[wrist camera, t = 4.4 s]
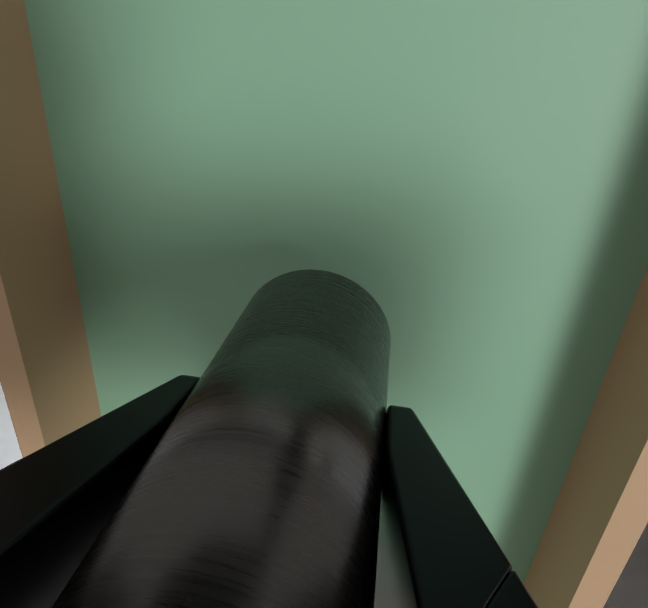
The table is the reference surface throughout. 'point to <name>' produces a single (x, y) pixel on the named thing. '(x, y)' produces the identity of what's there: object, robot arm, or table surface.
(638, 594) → the table surface
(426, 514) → the robot arm
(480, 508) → the pitch
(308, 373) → the rod
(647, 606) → the table surface
